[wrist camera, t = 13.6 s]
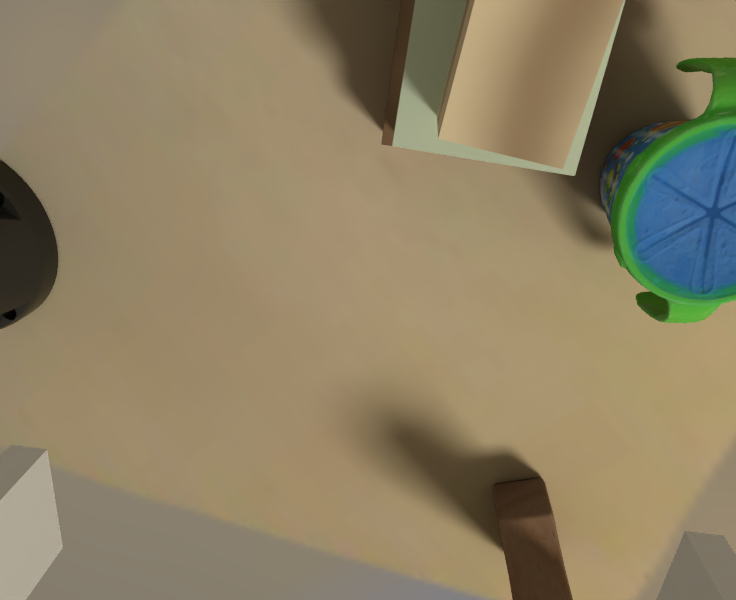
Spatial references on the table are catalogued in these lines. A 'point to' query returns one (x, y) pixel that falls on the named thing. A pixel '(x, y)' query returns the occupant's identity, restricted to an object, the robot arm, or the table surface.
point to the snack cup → (679, 204)
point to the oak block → (524, 75)
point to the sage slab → (427, 80)
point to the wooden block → (530, 541)
